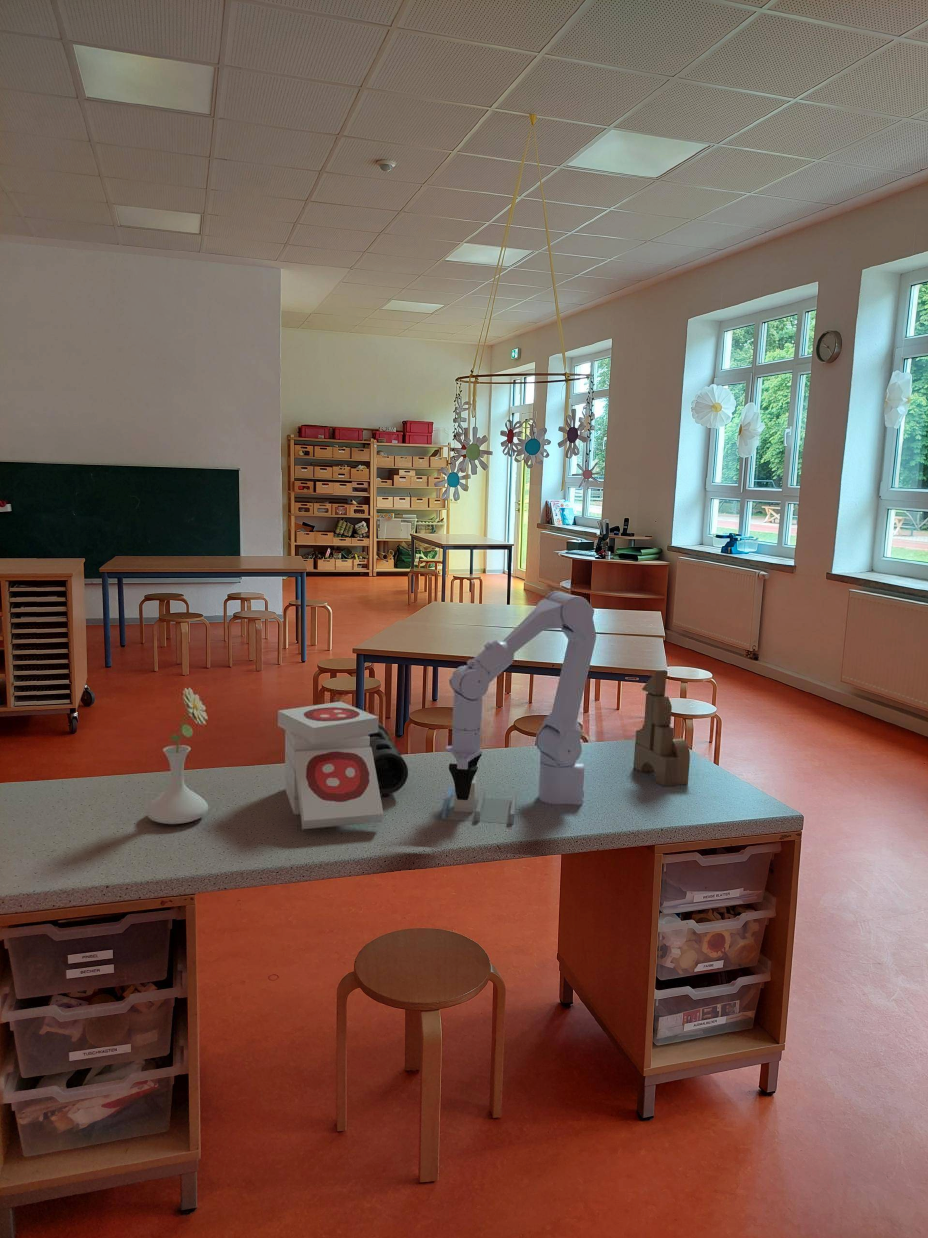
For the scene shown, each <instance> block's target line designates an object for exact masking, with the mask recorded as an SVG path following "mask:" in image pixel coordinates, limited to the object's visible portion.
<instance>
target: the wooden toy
mask: <svg viewBox="0 0 928 1238" xmlns="http://www.w3.org/2000/svg"><path fill="white" fill-rule="evenodd" d="M666 681H667V670H666V669H665V670H663V669H662V670H655V672H654V673H653V674H652V676H651V677H650V678H649V680H648V681H647V682H646V683H645V684H644V685H643V686H642V688H641V690H642V691H643V692H646V694H645V703H644V706H645V707H644V718H643V719H644V722H643V724H642V726H641V728H640V729H637V730H635V740H634V741H635V742H634V754H633V755H634V756H633V768H634V769H635V770H637V771H638V772H640V773H645V772H646V773H647V772H653V771H654V774H655V782H656V783H657V784H660V785H662V786H663V787H672V786H673V787H674V786H679V785H688V784H689V774H690V764H691V763H690V761H691V754H690V753H691V752H690V749H689V745H688V743H687V742H686V740H685V738H674V734H675V728H674V727H672V726H671V723H672V710H673V709H672V708H673V707H672V703H671V700H670V698H669V696H667V695H666V685H667V682H666Z"/></svg>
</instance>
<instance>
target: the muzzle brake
mask: <svg viewBox="0 0 928 1238" xmlns="http://www.w3.org/2000/svg"><path fill="white" fill-rule="evenodd" d="M368 736H369V737H370V747H372V753H373V758H374V764H375V769H376V775H377V781H378V786H379V792H380V795H381V796H382V797H383V799H384V798H389V797H390V795H392V794H394V793H397V792H398V791H400V790H401V789H402V788H403V787H404V785H405V784H406V782H407V779H408V777H409V768H408V765H407V763H406V761H405V759H404V758H403V757H402V755H401V753H400V751H399V750H398V749H397V747H396V745H395V744H394V743H393V740H392V739H391V738H390V735H389V733H388V731H387V730H386V728H385V726H384V725H383V723H381V722H380V721H378V733H373V734H368Z"/></svg>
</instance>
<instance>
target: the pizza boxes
mask: <svg viewBox="0 0 928 1238" xmlns="http://www.w3.org/2000/svg"><path fill="white" fill-rule="evenodd" d="M379 719H380V718H379V716H376V715H374V714H372V713H369V712H367V711H364V710H363V709H362V710H361V709H360V708H357V707H355V706H352V705H350V704H348V703H344V702H343V701H336V702H329V703H323V704H315V705H314V704H313V705H308V706H302V707H295V708H287V709H282V710H281V709H280V710H278V711H277V726H278V727H280V728H282V729H284V734H285V736H284V737H285V739H284V741H285V742H284V743H285V744H284V752H285V753H284V758H285V759H284V768H285V769H284V791H285V793H286V795H287V799H288V798H289V799H288V801H289V803H290V807H291V809H293V810H292V812H293V815H294V814H297V815H300V820H301V821H300V822H301V830H306V829H307V830H308V829H318V828H327V827H328V828H331V827H340V826H349V825H350V826H351V825H352V826H353V825H361V824H362V825H363V824H375V823H381V822H382V819H383V818H384V817H383V816H384V810H383V803H382V799H381V798H382V797H381V794H380V792H379V786H378V781H377V775H376V769H375V764H374V758H373V753H372V747H370V737H369V736H368V734H373V733H378V722H380V721H379ZM299 813H300V814H299Z"/></svg>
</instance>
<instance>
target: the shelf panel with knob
mask: <svg viewBox="0 0 928 1238" xmlns="http://www.w3.org/2000/svg"><path fill="white" fill-rule="evenodd" d="M454 792H455V786H453V785H452V786H451V785H450V786H449V787H448V791H447V794H446V796H445V799H444V802H443V805H442V807H441V820H452V821H463V822H464V821H465V822H482V823H490V824H491V823H492V824H493V823H494V824H507V825H514V824H515V817H516V809H517V801H518V800H517V799H518V790H513V791H512V798H511V799H507V798H505V799H504V798H490V797H486V788H480V793H479V797H478V796H476V806H475V810H474V812H462V811H454Z"/></svg>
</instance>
